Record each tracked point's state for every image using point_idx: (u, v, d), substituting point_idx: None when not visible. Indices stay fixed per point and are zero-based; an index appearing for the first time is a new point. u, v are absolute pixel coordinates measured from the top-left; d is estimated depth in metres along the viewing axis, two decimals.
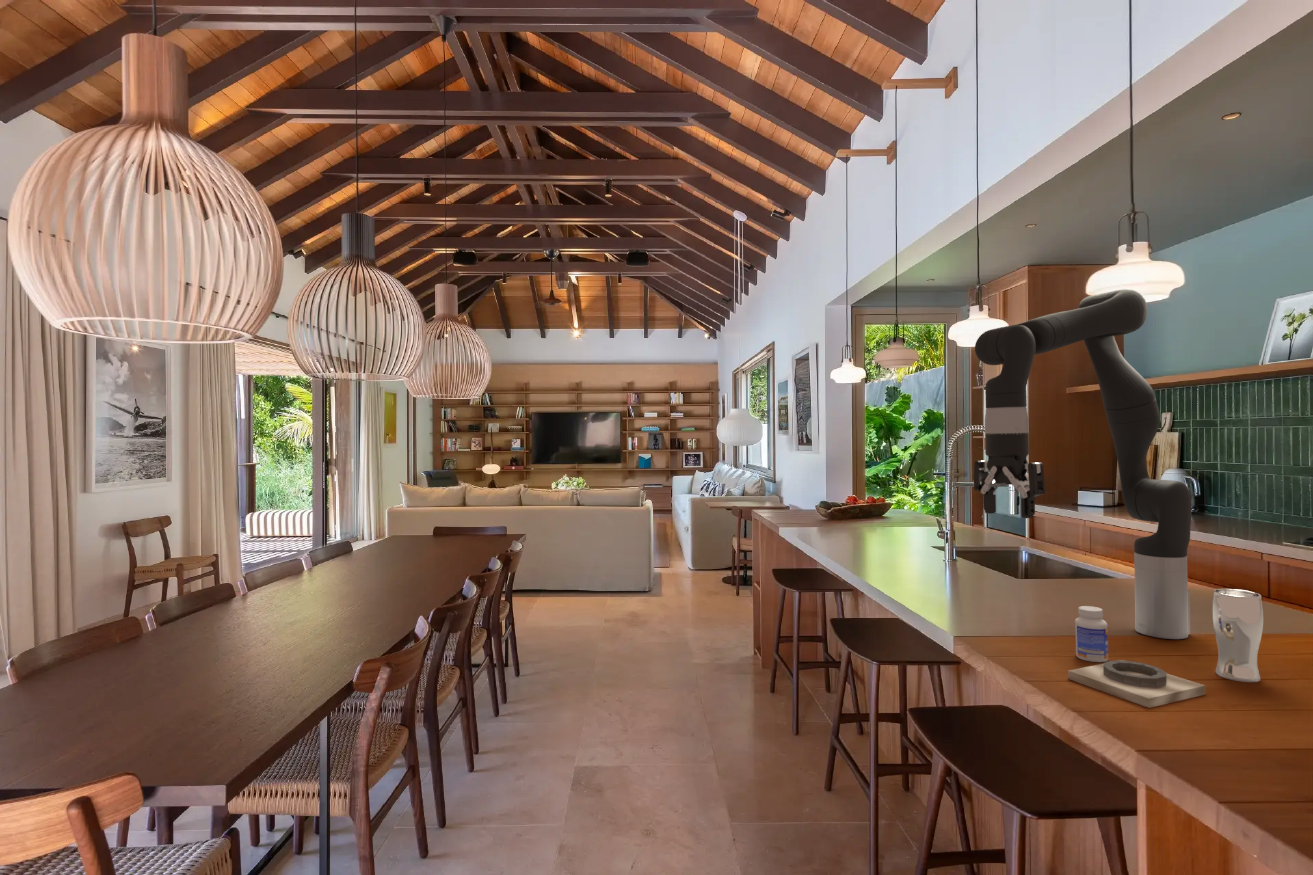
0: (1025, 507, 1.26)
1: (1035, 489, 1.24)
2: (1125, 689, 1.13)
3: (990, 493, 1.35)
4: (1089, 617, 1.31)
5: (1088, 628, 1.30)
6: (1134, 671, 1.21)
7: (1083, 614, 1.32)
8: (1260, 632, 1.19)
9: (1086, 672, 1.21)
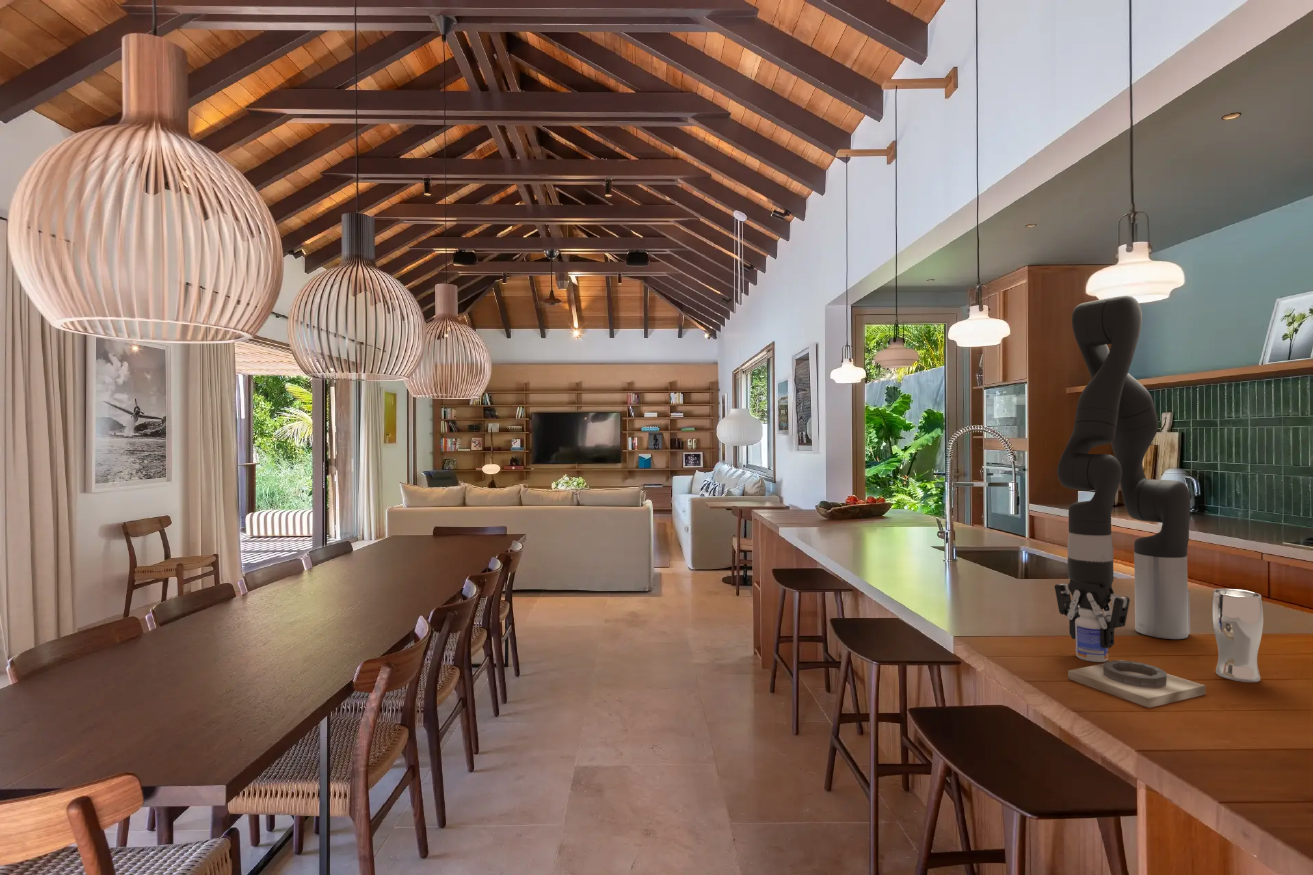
0: (1104, 637, 1.29)
1: (1116, 622, 1.27)
2: (1125, 689, 1.13)
3: None
4: (1089, 617, 1.31)
5: (1088, 628, 1.30)
6: (1134, 671, 1.21)
7: (1083, 614, 1.32)
8: (1260, 632, 1.19)
9: (1086, 672, 1.21)
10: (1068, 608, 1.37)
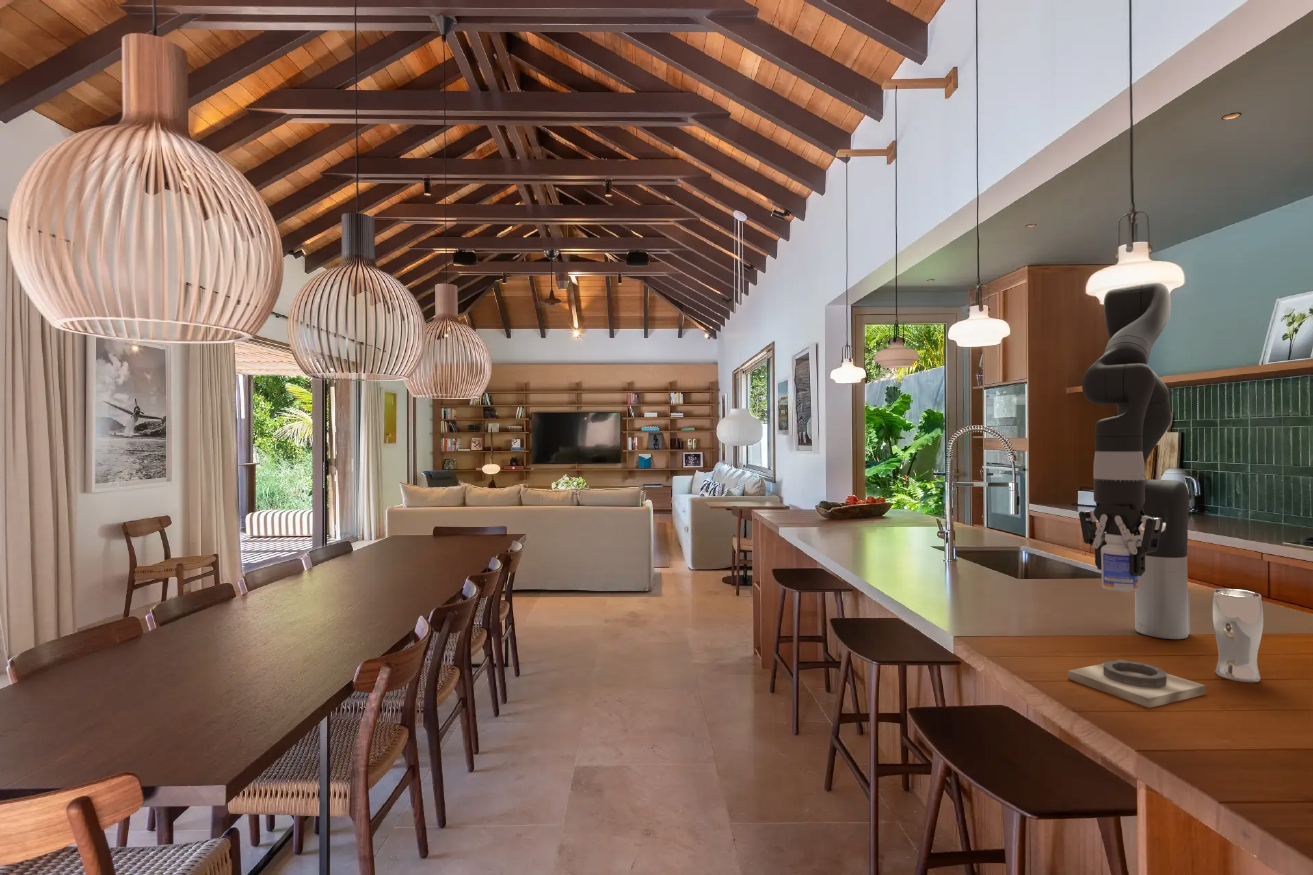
0: (1134, 564, 1.17)
1: (1147, 546, 1.15)
2: (1125, 689, 1.13)
3: None
4: (1117, 543, 1.19)
5: (1116, 555, 1.19)
6: (1134, 671, 1.21)
7: (1110, 540, 1.20)
8: (1260, 632, 1.19)
9: (1086, 672, 1.21)
10: (1094, 537, 1.25)
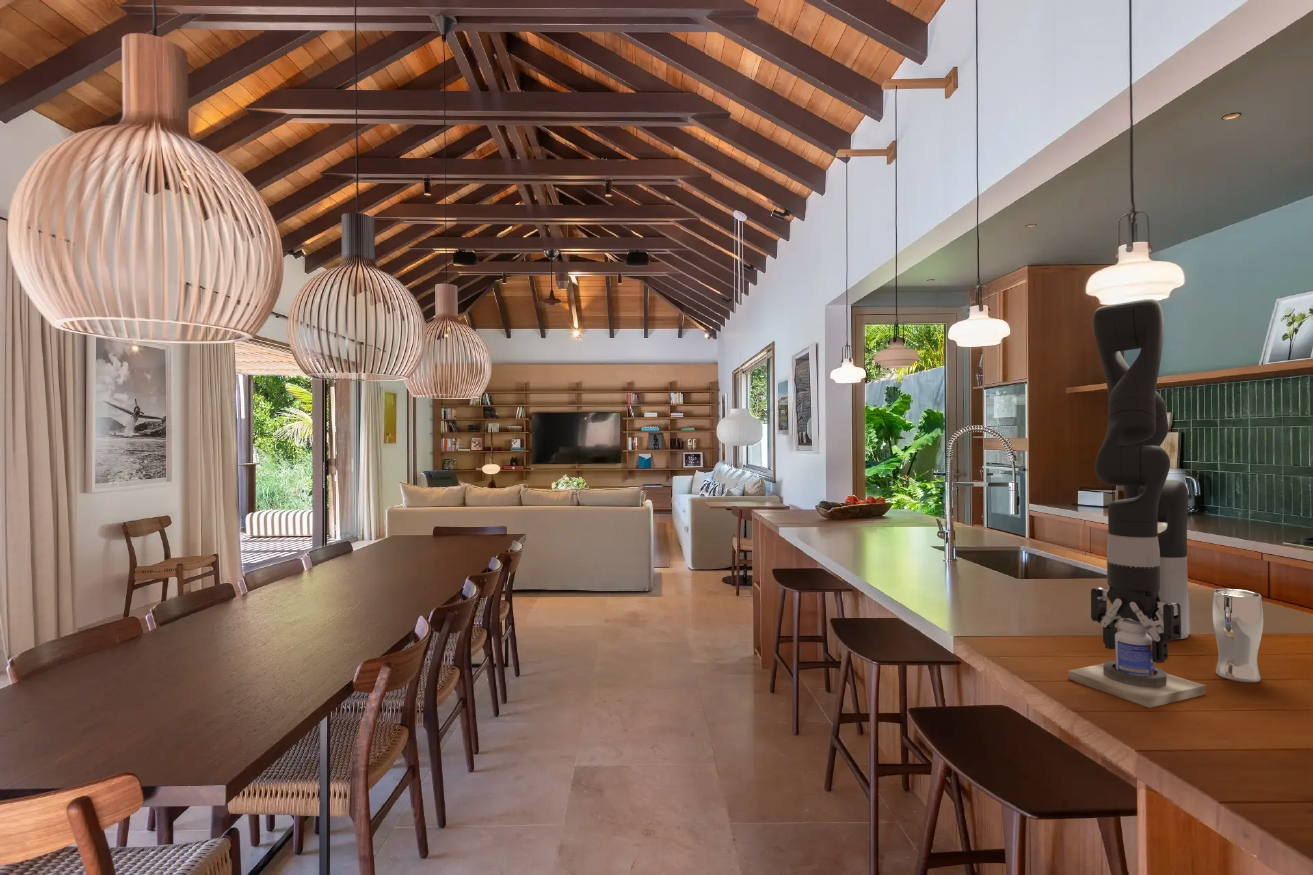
0: (1157, 651, 1.13)
1: (1171, 634, 1.11)
2: (1125, 689, 1.13)
3: (1112, 626, 1.21)
4: (1132, 631, 1.16)
5: (1131, 644, 1.16)
6: None
7: (1125, 628, 1.17)
8: (1260, 632, 1.19)
9: (1086, 672, 1.21)
10: (1102, 615, 1.23)
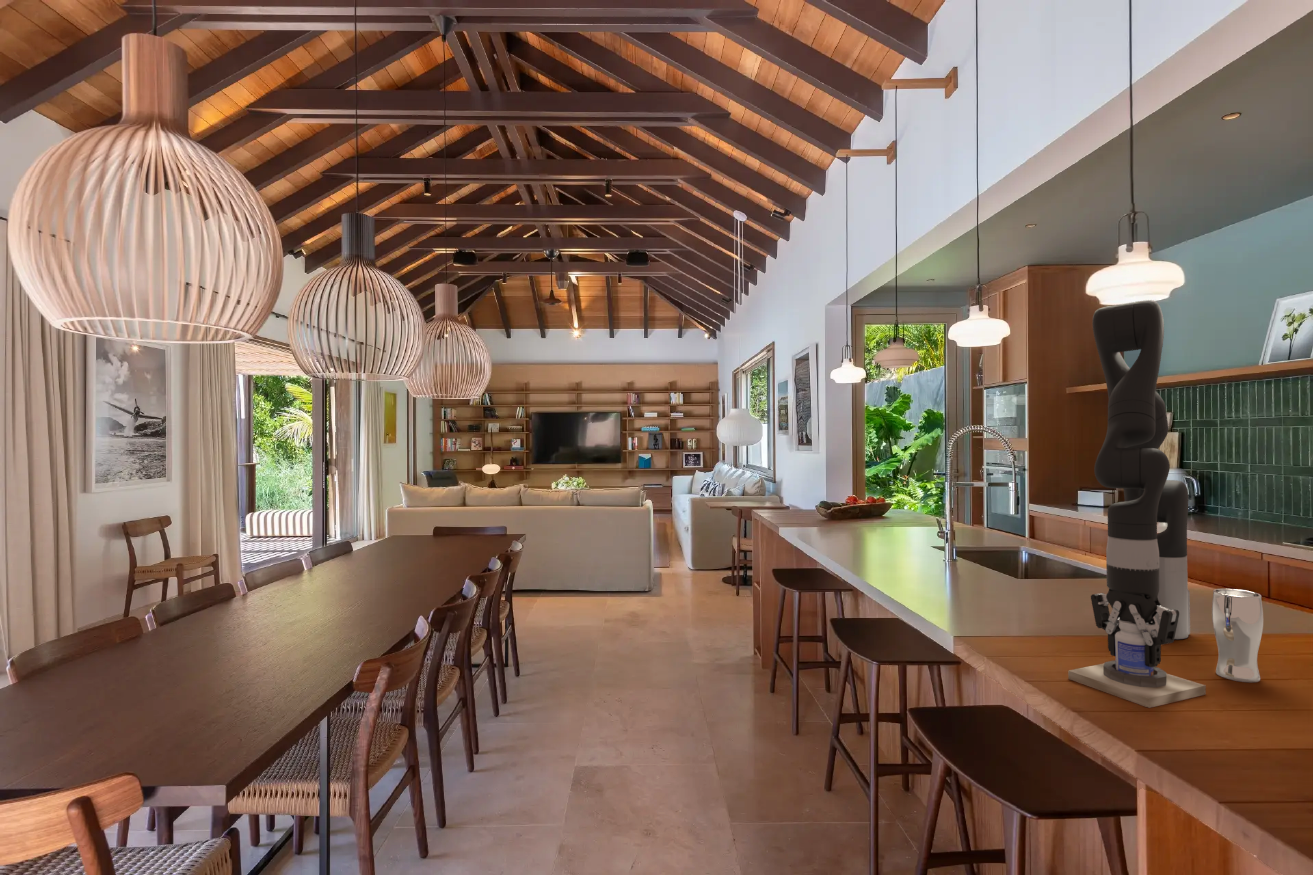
0: (1150, 655, 1.14)
1: (1164, 638, 1.12)
2: (1125, 689, 1.13)
3: None
4: (1132, 631, 1.16)
5: (1131, 644, 1.16)
6: None
7: (1125, 628, 1.17)
8: (1260, 632, 1.19)
9: (1086, 672, 1.21)
10: (1106, 621, 1.23)
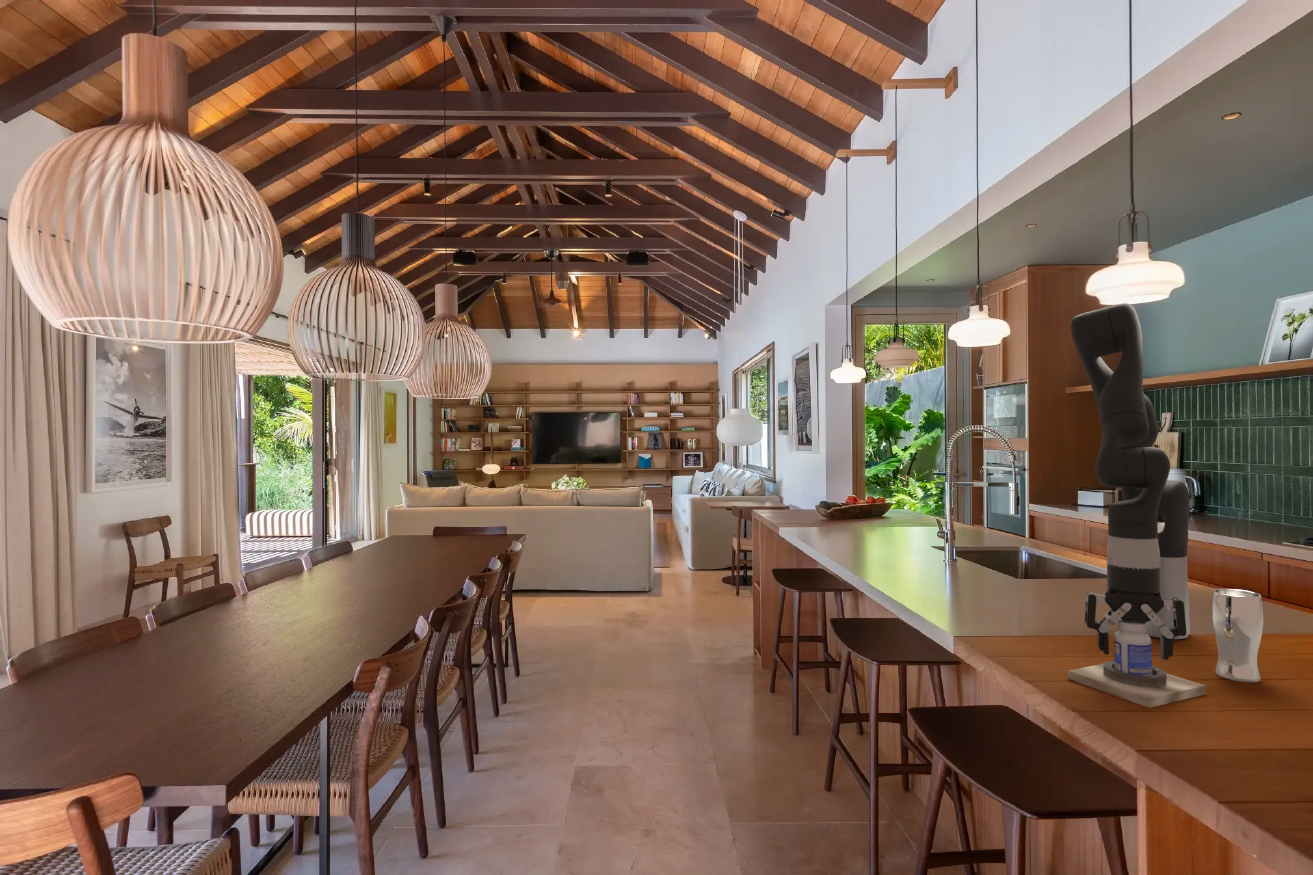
0: (1168, 648, 1.15)
1: (1185, 629, 1.14)
2: (1125, 689, 1.13)
3: None
4: (1140, 632, 1.16)
5: (1144, 645, 1.15)
6: None
7: (1134, 630, 1.16)
8: (1260, 632, 1.19)
9: (1086, 672, 1.21)
10: None
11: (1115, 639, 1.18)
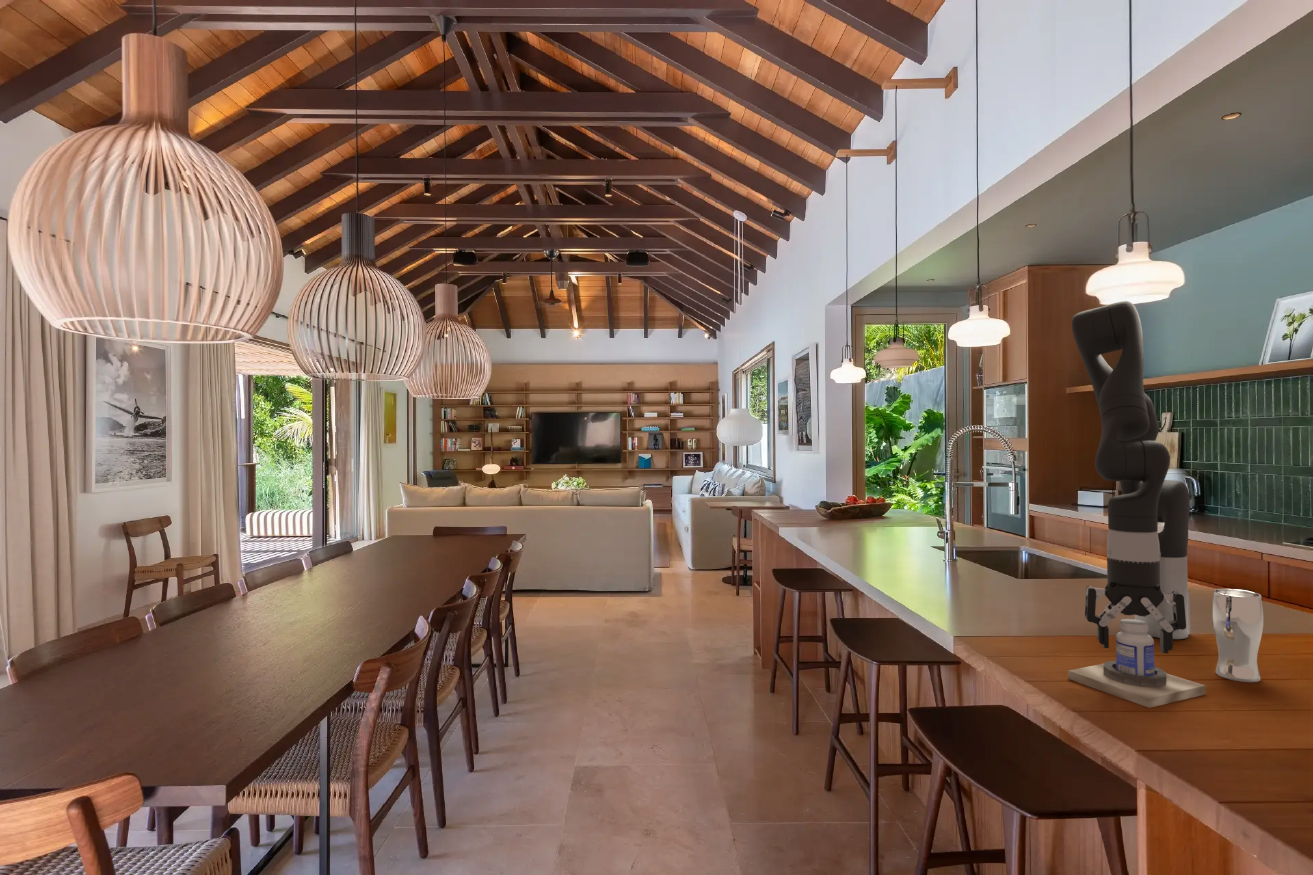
0: (1168, 642, 1.15)
1: (1185, 623, 1.14)
2: (1125, 689, 1.13)
3: None
4: None
5: (1153, 644, 1.16)
6: None
7: (1146, 630, 1.16)
8: (1260, 632, 1.19)
9: (1086, 672, 1.21)
10: None
11: (1127, 643, 1.16)
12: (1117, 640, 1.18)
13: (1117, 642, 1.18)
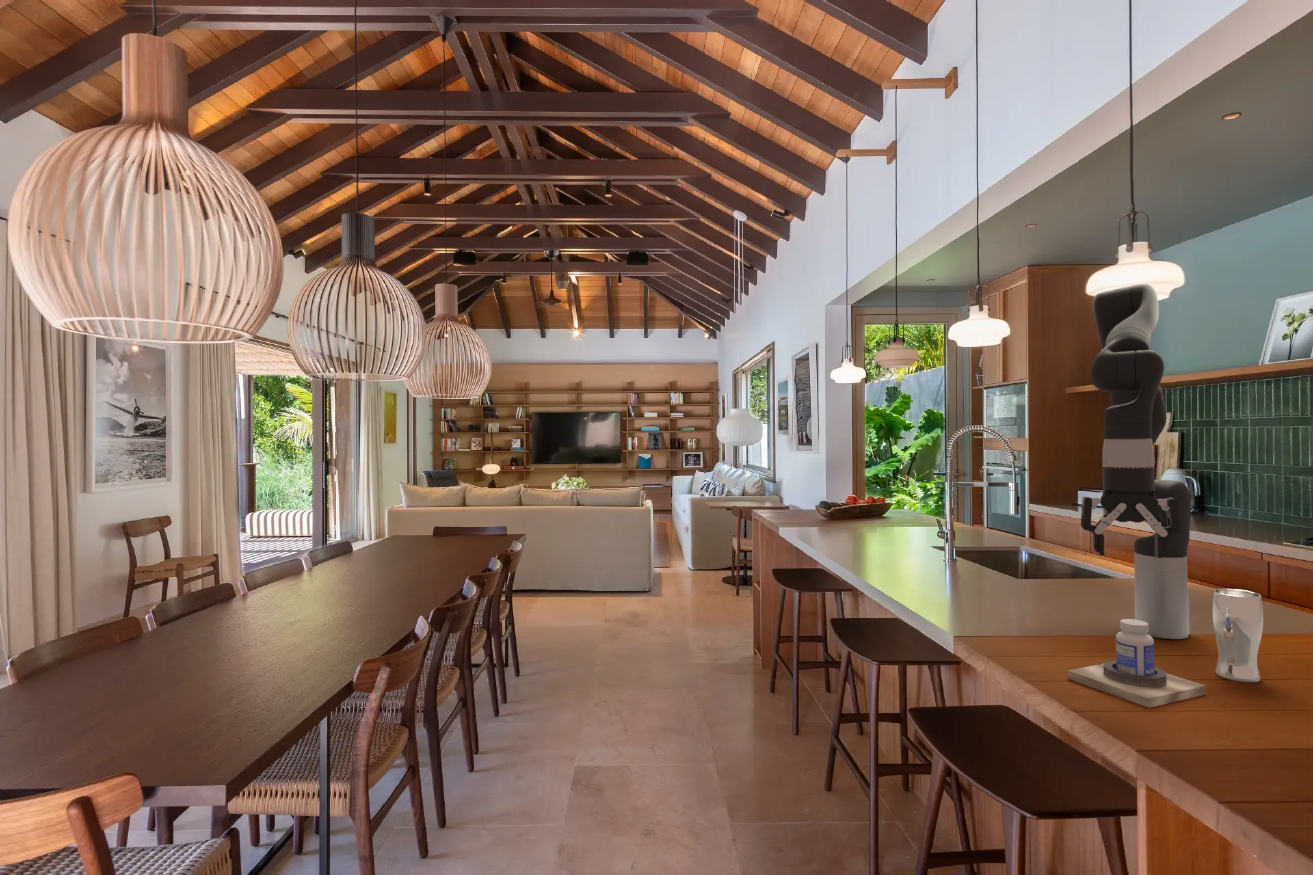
0: (1162, 546, 1.18)
1: (1179, 527, 1.16)
2: (1125, 689, 1.13)
3: (1101, 533, 1.22)
4: None
5: (1153, 644, 1.16)
6: None
7: (1146, 630, 1.16)
8: (1260, 632, 1.19)
9: (1086, 672, 1.21)
10: None
11: (1127, 643, 1.16)
12: (1117, 640, 1.18)
13: (1117, 642, 1.18)
